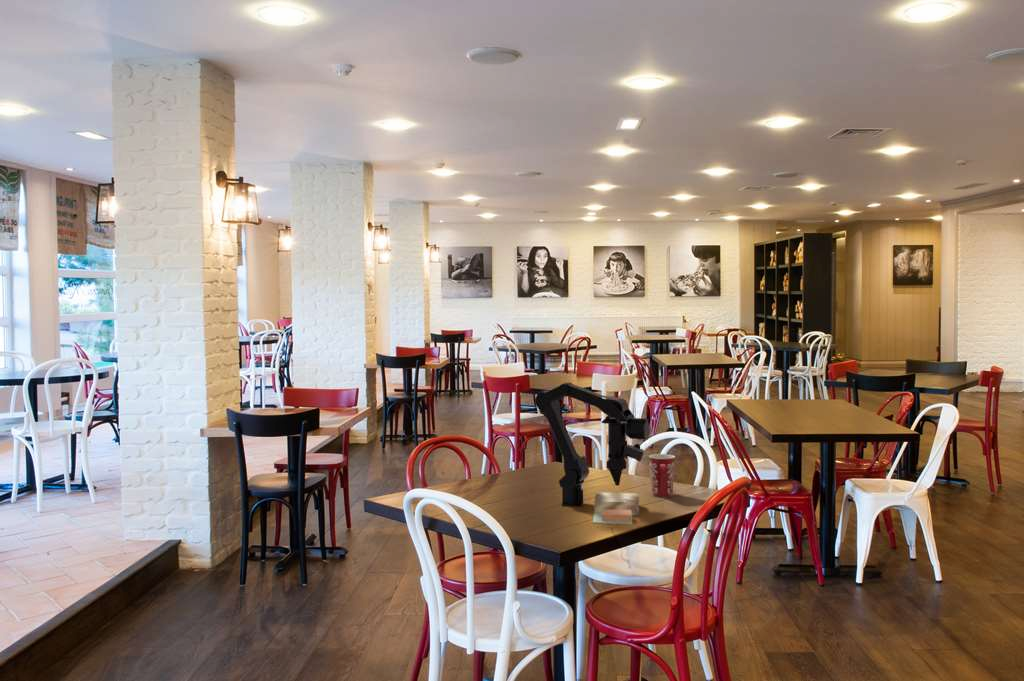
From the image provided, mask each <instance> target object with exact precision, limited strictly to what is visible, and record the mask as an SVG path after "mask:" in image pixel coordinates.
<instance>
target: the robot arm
mask: <svg viewBox="0 0 1024 681" xmlns="http://www.w3.org/2000/svg"><path fill="white" fill-rule="evenodd" d="M566 397H570V398H572V399H575V400H577V401H580V402H583V403H586V404H588V405H590V406H593V407H594V408H596V409H599V410H600V411H601V412H602V413H603V414H605V415H606V417H605V418H604V419H603V420H602V421H601V423H602V424H607V430H608V431H607V434H608V435H607V436H608V437H607V446H608V447H607V448H608V449H607V450H608V454H607V458H608V459H607V460H606V469H608V471H609V473H610V474H611V478H612V480H613V482H614V485H615V486H619V485H620V484H621V483H620V482H621V477H622V474H623V473H622V472H623V471H624V470H625V469H626V470H627V467H628V466H627V465H628V462H627V460H628V458H631V459H633V460H636V461H637V462H642V460H643V456H644V454H645V450H643V448H641V444H640V443H634V444H633V445H632V444H631V445H630V444H628V440H627V437H628V438H629V439H631V440H646V441H647V440H649V439H650V436H651V435H650V434H651V427H650V424H649V422H648V421H649V420H648V418H647V417H641V418H639V417H635V415H634V414H633V413H632V411H631V410H630V408H629V404H628V402H627V400H626V399H624V398H621V397H616V396H610V395H603V394H600V393H598V392H594V391H592V390H590V389H587V388H584V387H582V386H579V385H576V384H574V383H572V382H570V381H568V382H564V383H561V384H560V385H558V386H556V387H555V388H552V389H549V390H544V391H541V392H538V393H537V394H536V396H535V398H534V403H535V406H536V407H537V409H538V411H539V413H541V414H542V416H544V418H546V420H547V422H548V424H549V427H550V429H551V431H552V433H553V436H554V438H555V441H556V443H557V446H558V449H559V450H560V452H561V455H562V458H563V470H564V476H563V477H561V478H560V479H559V480H558V484H559V487H561V490H562V491H561V494H562V496H561V497H562V502H561V506H571V507H572V506H578V507H580V506H582V504H583V503H584V501H585V500H584V489H583V486H582V485H583V484H584V483H585V480H586V479H587V478H588V476H589V474H590V464H588V462H587V459H586V456H585V455H583V456H580V455H579V454H578V453H577V451H576V448H575V446H574V444H573V441H572V439H571V436H570V434H569V431H568V429H567V427H566V424H565V422H564V420H563V417H562V415H561V403H560V400H562V399H564V398H566Z"/></svg>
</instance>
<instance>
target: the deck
mask: <svg viewBox="0 0 1024 681" xmlns="http://www.w3.org/2000/svg"><path fill="white" fill-rule="evenodd" d="M639 495H640V494H639V492H638V493H635V492H634V493H633V492H630V493H629V492H598V491H597V492H595V496H594V502H593V503H594V508H593V509H594V513H602V509H606V510H631V514H633V516H635V515H636V516H639V515H640V496H639ZM594 513H593V514H594Z"/></svg>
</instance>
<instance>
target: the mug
mask: <svg viewBox="0 0 1024 681" xmlns="http://www.w3.org/2000/svg"><path fill="white" fill-rule="evenodd" d="M648 458H649V473H650V474H649V475H650V485H651V486H650V487H651V488H650V492H651V495H652V496H654V497H658V498H659V497H660V498H668V497H672V496H673V494H674V478H675V477H674V476H675V461H676V460H675V459H676V456H675V455H672V454H667V453H666V454H665V453H655V454H649V455H648Z"/></svg>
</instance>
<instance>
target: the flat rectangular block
mask: <svg viewBox="0 0 1024 681" xmlns="http://www.w3.org/2000/svg"><path fill="white" fill-rule="evenodd" d="M602 521H628V522H631V510H606V509H602Z"/></svg>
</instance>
